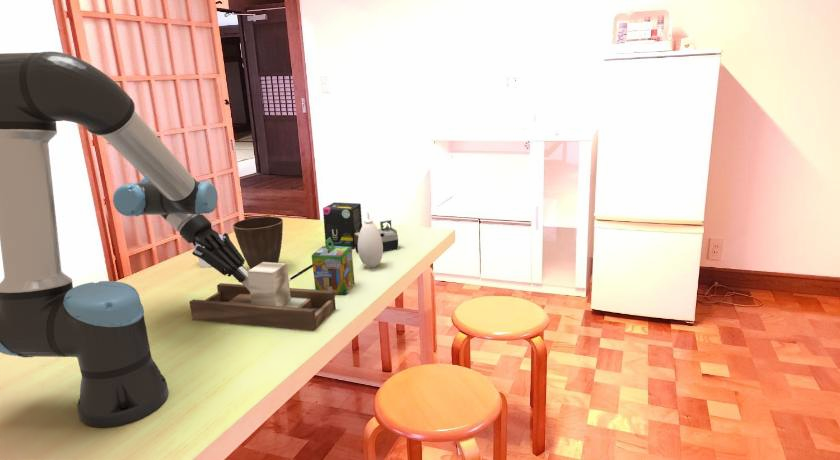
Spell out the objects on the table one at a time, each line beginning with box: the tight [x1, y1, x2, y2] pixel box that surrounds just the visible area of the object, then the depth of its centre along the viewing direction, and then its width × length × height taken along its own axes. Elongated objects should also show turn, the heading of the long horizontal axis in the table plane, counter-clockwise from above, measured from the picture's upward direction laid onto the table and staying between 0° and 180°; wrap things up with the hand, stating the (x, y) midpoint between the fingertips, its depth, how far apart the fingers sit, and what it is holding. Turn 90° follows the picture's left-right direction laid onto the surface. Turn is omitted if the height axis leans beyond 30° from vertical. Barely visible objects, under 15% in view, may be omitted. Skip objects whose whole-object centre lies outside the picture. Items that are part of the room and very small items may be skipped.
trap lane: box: [189, 282, 337, 332], centre depth 142 cm, size 13×34×5 cm, turn 75°
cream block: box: [247, 262, 291, 307], centre depth 139 cm, size 7×7×10 cm
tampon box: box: [322, 202, 363, 250], centre depth 197 cm, size 11×9×15 cm
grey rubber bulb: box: [357, 212, 384, 269], centre depth 172 cm, size 8×8×18 cm
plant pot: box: [232, 216, 284, 270], centre depth 173 cm, size 15×15×16 cm
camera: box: [354, 219, 399, 254], centre depth 189 cm, size 15×8×10 cm, turn 111°
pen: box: [288, 264, 313, 281], centre depth 173 cm, size 1×19×1 cm, turn 158°
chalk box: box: [311, 237, 356, 295], centre depth 156 cm, size 9×9×15 cm
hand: (255, 288), depth 142 cm, fingers closed
